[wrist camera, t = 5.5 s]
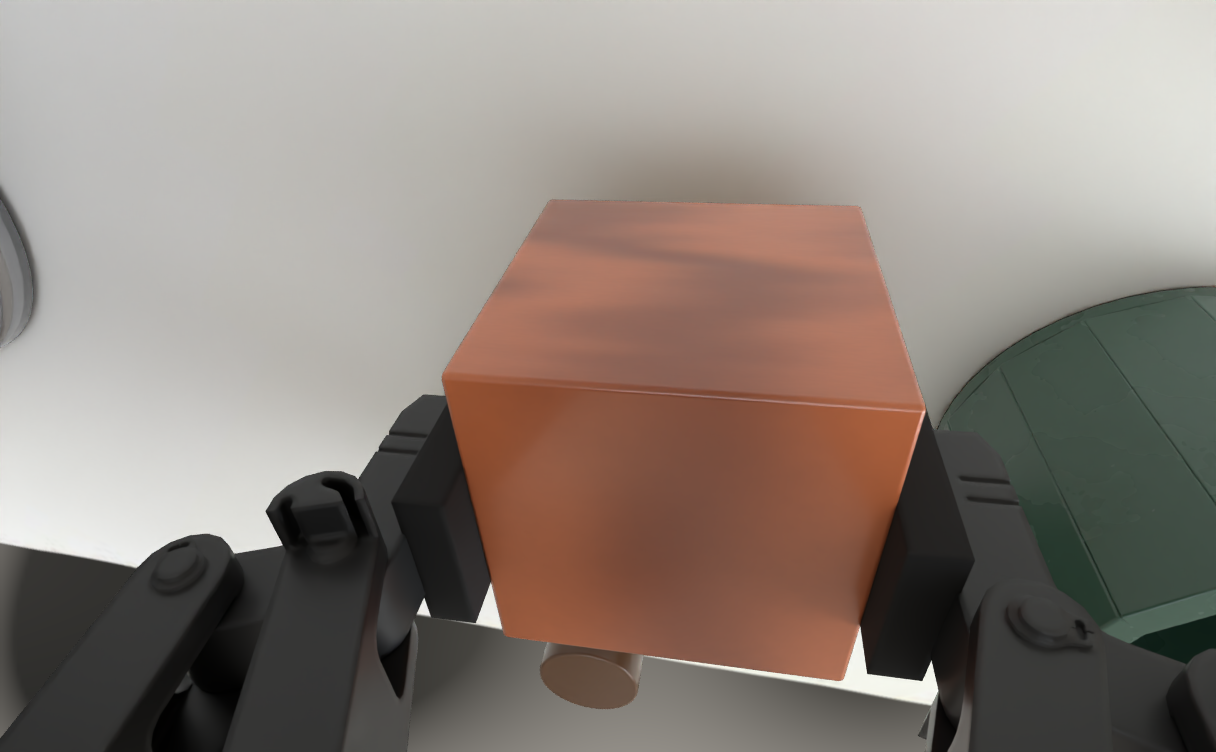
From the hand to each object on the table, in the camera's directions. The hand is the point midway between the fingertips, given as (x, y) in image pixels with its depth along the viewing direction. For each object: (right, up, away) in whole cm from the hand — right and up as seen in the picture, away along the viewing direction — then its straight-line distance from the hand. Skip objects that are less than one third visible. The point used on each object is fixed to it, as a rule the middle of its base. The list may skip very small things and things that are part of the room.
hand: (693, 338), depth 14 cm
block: (0, 0, 0) cm, 0 cm away
